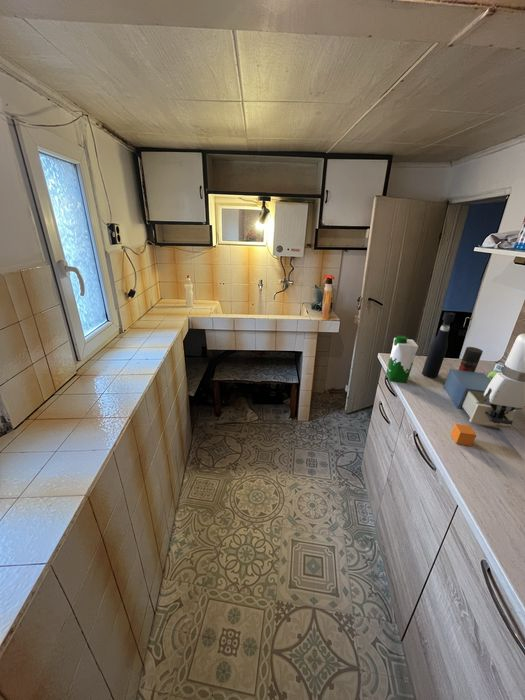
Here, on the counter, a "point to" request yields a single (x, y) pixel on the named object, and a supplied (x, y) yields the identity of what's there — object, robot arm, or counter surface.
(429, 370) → the black water bottle
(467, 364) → the deodorant
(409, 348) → the milk carton
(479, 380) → the blue drawer cabinet
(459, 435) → the small orange cuboid
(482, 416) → the white drawer
